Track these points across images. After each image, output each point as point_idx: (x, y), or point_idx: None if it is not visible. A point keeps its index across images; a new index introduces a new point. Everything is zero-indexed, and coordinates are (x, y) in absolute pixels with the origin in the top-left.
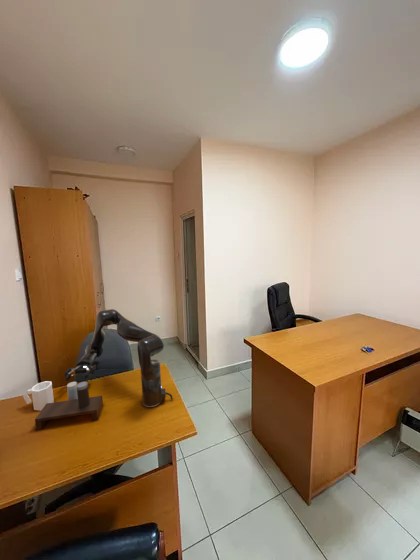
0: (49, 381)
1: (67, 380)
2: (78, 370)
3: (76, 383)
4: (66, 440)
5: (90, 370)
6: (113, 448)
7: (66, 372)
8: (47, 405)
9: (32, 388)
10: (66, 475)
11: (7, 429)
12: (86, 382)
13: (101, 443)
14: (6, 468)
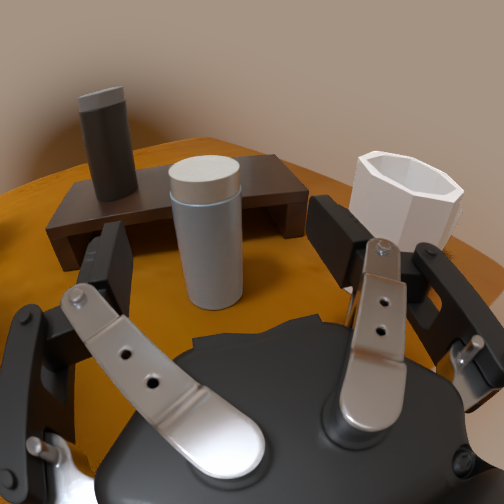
0: (427, 196)
1: (309, 224)
2: (290, 320)
3: (170, 171)
4: None
5: (61, 326)
6: (61, 180)
7: (423, 251)
8: (290, 183)
9: (431, 167)
10: (133, 152)
11: None
12: (81, 97)
13: None
14: (250, 150)
